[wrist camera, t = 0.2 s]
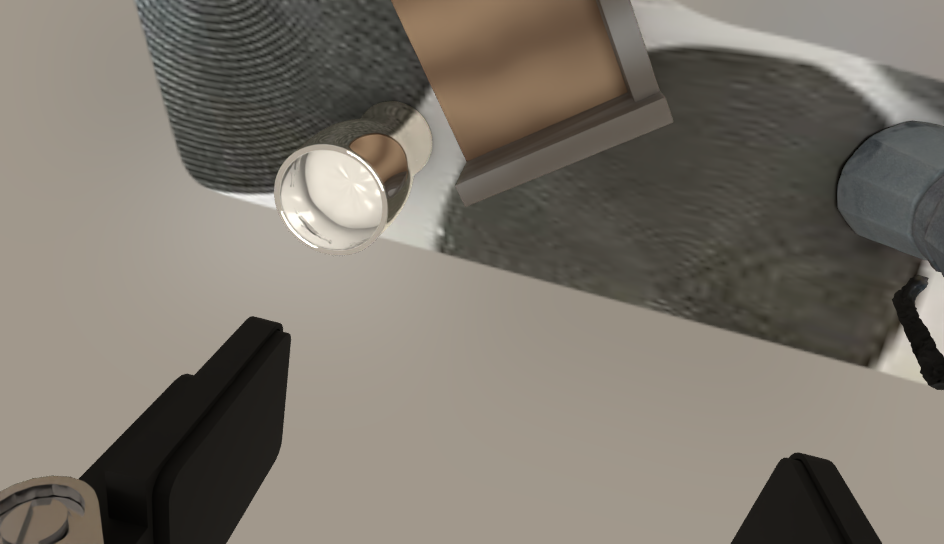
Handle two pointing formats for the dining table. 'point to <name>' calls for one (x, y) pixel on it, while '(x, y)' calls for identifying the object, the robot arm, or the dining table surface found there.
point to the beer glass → (352, 178)
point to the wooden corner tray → (533, 82)
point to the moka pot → (902, 215)
